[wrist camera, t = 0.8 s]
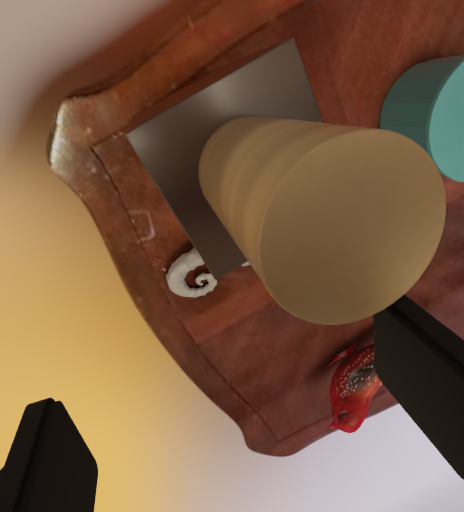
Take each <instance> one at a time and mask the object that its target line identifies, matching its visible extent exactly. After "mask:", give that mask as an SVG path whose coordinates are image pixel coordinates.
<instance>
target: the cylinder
mask: <svg viewBox="0 0 464 512" xmlns="http://www.w3.org/2000/svg"><path fill="white" fill-rule="evenodd" d="M198 172H199V182H200V186H201V190H202V192H203V195H204V197H205V199H206V200H207V202H208V203H209V205H210V206H211V208H212V209H213V210H214V212H215V213H216V215H217V216H218V218H219V219H220V221H221V222H222V224H223V225H224V227H225V228H226V230H227V231H228V233H229V234H230V235H231V237H232V238H233V240H234V241H235V243H236V244H237V246H238V247H239V249H240V250H241V252H242V253H243V255H244V256H245V258H246V259H247V260H248V262H249V263H250V265H251V266H252V268H253V269H254V271H255V272H256V274H257V275H258V277H259V278H260V280H261V281H262V283H263V284H264V285H265V287H266V288H267V290H268V291H269V293H270V294H271V296H272V297H273V298H274V299H275V301H276V302H277V303H278V304H279V305H280V306H281V307H282V308H284V309H285V310H286V311H287V312H289V313H291V314H292V315H294V316H296V317H298V318H300V319H303V320H306V321H308V322H313V323H317V324H326V325H336V324H345V323H351V322H355V321H358V320H362V319H364V318H367V317H370V316H372V315H374V314H376V313H378V312H380V311H382V310H384V309H385V308H387V307H388V306H390V305H391V304H393V303H394V302H395V301H397V300H398V299H399V298H400V297H402V296H403V295H404V294H405V293H406V292H407V291H408V290H409V289H410V288H411V287H412V286H413V285H414V284H415V282H416V281H417V280H418V279H419V278H420V276H421V275H422V274H423V272H424V271H425V269H426V268H427V266H428V264H429V263H430V261H431V259H432V258H433V255H434V253H435V251H436V249H437V247H438V244H439V241H440V238H441V235H442V231H443V227H444V223H445V214H446V197H445V190H444V185H443V181H442V178H441V175H440V173H439V170H438V168H437V166H436V164H435V163H434V161H433V160H432V158H431V157H430V155H429V154H428V153H427V152H426V151H425V150H424V149H423V148H422V147H421V146H420V145H419V144H417V143H416V142H414V141H413V140H412V139H410V138H408V137H406V136H404V135H402V134H400V133H396V132H393V131H389V130H383V129H374V128H365V127H356V126H348V125H339V124H330V123H321V122H312V121H303V120H294V119H285V118H276V117H267V116H258V115H246V116H241V117H238V118H234V119H232V120H230V121H228V122H226V123H225V124H223V125H222V126H220V127H219V128H218V129H217V130H216V131H215V132H214V133H213V134H212V135H211V137H210V138H209V140H208V141H207V143H206V144H205V147H204V149H203V151H202V154H201V157H200V162H199V171H198Z"/></svg>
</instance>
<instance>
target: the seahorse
mask: <svg viewBox="0 0 464 512" xmlns="http://www.w3.org/2000/svg"><path fill="white" fill-rule="evenodd" d="M203 264H204V261H203V260H202V258H201V257H200V255H199V253H198V252H197V250H196V249H195V247H193V249H192V250H190V251H189V252H187V253H183V254H182V256H180V257H179V258H178V259H177V260H176V261H175V262H174V263H172V264H171V267H170V269H169V271H168V273H167V274H166V279H167V283H168V286H169V288H170V290H171V291H173V292H174V293H175V294H178V295H179V296H185V297H194V298H195V297H197V296H201V295H205V294H206V293H208V292H209V291H212V290H213V289H214V287H215V286H216V285H217V280H215V279H214V277H213V276H212V274H211V273H210V274H205V273H202V274H201V275H199V276H198V277H196V283H197V284H198V285H200V286H202V285H203V283H201V280H205V279H207V281H208V282H209V283H208V284H206V285H205V287H200V288H193V287H192V288H189V286H188V285H187V283H186V282H185V280H184V278H185V277H186V275H187V273H188V272H189V271H190V270H194V269H195V267H197V266H199V265H203ZM247 265H250V263H249V262H246V263H244V264H243V265H241V266H247Z"/></svg>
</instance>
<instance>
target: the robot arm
mask: <svg viewBox="0 0 464 512" xmlns="http://www.w3.org/2000/svg"><path fill="white" fill-rule="evenodd" d="M373 318H374V367H375V372H376V374H377V376H378V378H379V379H380V381H381V382H382V383H383V384H384V385H385V387H386V388H387V389H388V390H389V391H390V393H391V394H392V395H393V396H394V398H395V399H396V400H397V401H398V402H399V404H400V405H401V406H402V407H403V408H404V410H405V411H406V412H407V413H408V414H409V416H410V417H411V418H412V419H413V420H414V422H415V423H416V424H417V425H418V427H419V428H420V429H421V430H422V431H423V433H424V434H425V435H426V436H427V437H428V439H429V440H430V441H431V442H432V443H433V445H434V446H435V447H436V448H437V450H438V451H439V452H440V453H441V454H442V456H443V457H444V458H445V459H446V460H447V462H448V463H449V464H450V465H451V466H452V468H453V469H454V470H455V471H456V472H457V474H458V475H459V476H460V477H461V478H462V479H464V340H463V339H461V338H460V337H459V336H458V335H456V334H455V333H454V332H452V331H451V330H450V329H448V328H447V327H446V326H444V325H443V324H442V323H440V322H439V321H438V320H436V319H435V318H434V317H433V316H431V315H430V314H429V313H427V312H426V311H425V310H424V309H422V308H421V307H420V306H418V305H417V304H416V303H414V302H413V301H412V300H411V299H409V298H408V297H407V296H405V295H403V296H402V297H400V298H399V299H398V300H397V301H395V302H394V303H393V304H391V305H390V306H388V307H387V308H385V309H384V310H382V311H380V312H378V313H376V314H374V315H373ZM97 478H98V468H97V463H96V461H95V459H94V457H93V455H92V454H91V452H90V450H89V448H88V447H87V445H86V443H85V442H84V440H83V438H82V436H81V435H80V433H79V431H78V429H77V428H76V426H75V424H74V423H73V421H72V419H71V417H70V416H69V414H68V412H67V410H66V409H65V407H64V405H63V404H62V402H61V401H56V402H55V401H54V399H52V398H48V399H44V400H41V401H38V402H35V403H31V404H29V405H27V407H26V408H25V411H24V413H23V416H22V419H21V422H20V424H19V427H18V430H17V432H16V435H15V438H14V441H13V443H12V446H11V449H10V451H9V454H8V457H7V460H6V462H5V465H4V467H3V468H2V469H1V470H0V512H94V504H95V494H96V487H97Z"/></svg>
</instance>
